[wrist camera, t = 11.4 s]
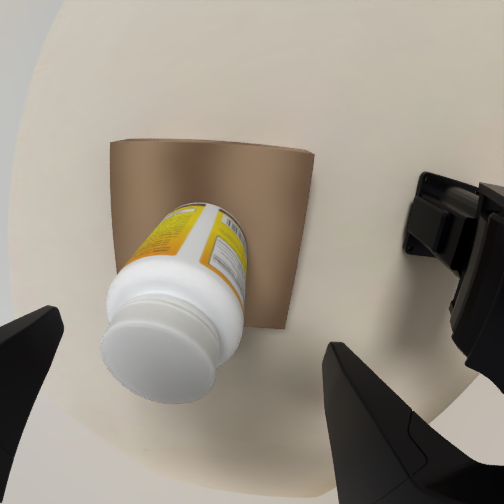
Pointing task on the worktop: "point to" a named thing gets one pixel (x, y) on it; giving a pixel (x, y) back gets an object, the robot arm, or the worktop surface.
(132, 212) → the walnut plinth
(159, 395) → the supplement bottle
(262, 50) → the worktop surface
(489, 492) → the robot arm
